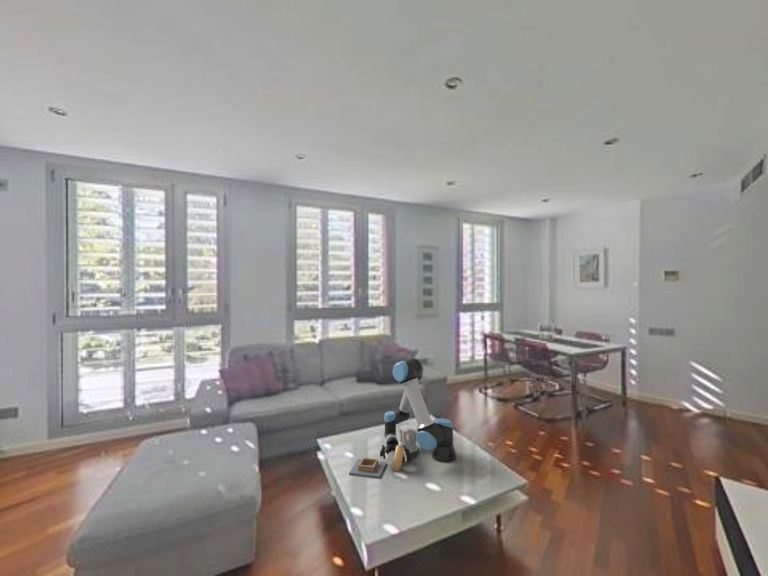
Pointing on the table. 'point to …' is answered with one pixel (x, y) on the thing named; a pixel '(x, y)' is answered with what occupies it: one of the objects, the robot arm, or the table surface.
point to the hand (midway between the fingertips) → (396, 459)
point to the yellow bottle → (398, 457)
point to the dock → (368, 468)
